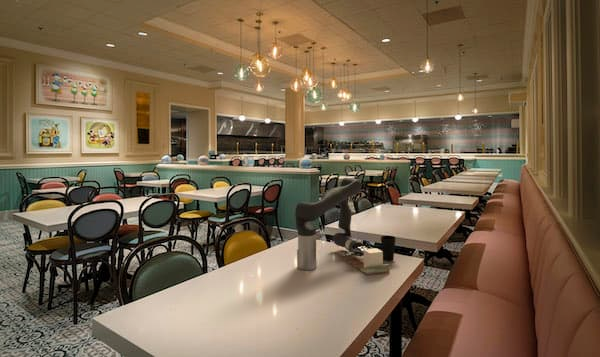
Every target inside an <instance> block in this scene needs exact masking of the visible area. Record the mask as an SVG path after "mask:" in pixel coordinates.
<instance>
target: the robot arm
mask: <svg viewBox="0 0 600 357" xmlns="http://www.w3.org/2000/svg"><path fill="white" fill-rule="evenodd" d="M362 187H363V186H362V183H361V181H360V180H359V179H356V178H350V177H343V179H342V180H341V181H340V186H336V187H333V188H330V189H328V190H326V191H325V192H323V193H322V194H321V195H320V196H321V197H320V200H318V201H316V202H307V201H300V202H298V203H297V205H296V207H295V211H294V212H295V213H294V215H295V228H296V231H297V250H296V260H297V261H296V263H297V264H296V265H297V269H300V270H303V271H312V270H315V269H317V265H318V263H317V228H316V227H314V225H312V224H311V223H310V222H315V221H317V220H318V219H319V218H320V217H322V216H323V215H324V214H325V213H327V212H328V211H330V210H331V209H333V208H334V207H336V206H337V205H338V206H340V207H339V209H340V210H339V218H338V225H337V226H338V229H340V230H343V232H336V233H335V234H333V237H332V240H333V242H334V244H335V245H336V246H337V247H341V248H344V249H346V250H347V251H349V253H350V255H355V256H364V250H366V249H374V247H371V246H370V247H369V248H368V247H367V246H365V245H364V243H363V242H361V241H359V240H358V239H356V238H353V237H352V233H351V225H352V224H351V223H352V210H351V208H350V206H349V203H348V202H349V201H348V199H349V198H351V197H354V196H356V195H358V194H359V193H360V191H361V190H362Z"/></svg>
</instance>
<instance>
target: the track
mask: <svg viewBox="0 0 600 357" xmlns="http://www.w3.org/2000/svg"><path fill="white" fill-rule="evenodd" d="M341 258H342V259H344V260H345V261H346V262H347V263H349V264H350V266H351V265H352V266H353V267H354V268H356V269H357V270H358V271H359V272H361V273H362V274H364V275H365V276H366V277H367V276H374V275H375V276H376V275H382V274H390V264H389V263H385V264H383V265H377V266H369V267H366V269H365V268H364V256H355V255H351V254H345V255H341Z"/></svg>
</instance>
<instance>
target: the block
mask: <svg viewBox="0 0 600 357" xmlns="http://www.w3.org/2000/svg"><path fill="white" fill-rule="evenodd" d="M383 262H384V260H383V252H382V249H379V248H377V247H376V248H374V247H373V249H369V248H368V249H366V250H364V268H365V269H366V267H369V266H377V265H384V264H383Z"/></svg>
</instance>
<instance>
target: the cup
mask: <svg viewBox="0 0 600 357" xmlns="http://www.w3.org/2000/svg"><path fill="white" fill-rule="evenodd" d="M396 239H397V238H396V236H394V235H381V236H380V242H381V251H382V252H383V261H385V262H391V261H394V258H395V257H394V256H395V249H396V248H395V247H396Z"/></svg>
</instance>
